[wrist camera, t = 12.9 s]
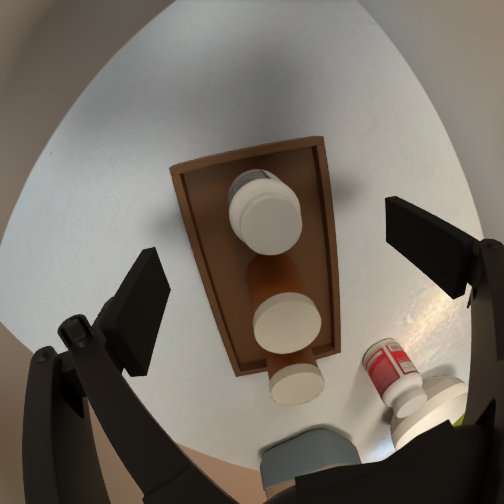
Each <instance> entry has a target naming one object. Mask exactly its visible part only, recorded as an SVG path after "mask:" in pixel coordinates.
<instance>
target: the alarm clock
mask: <svg viewBox="0 0 504 504" xmlns="http://www.w3.org/2000/svg"><path fill="white" fill-rule="evenodd" d="M356 464H362V463H361V460H360V457H359V454H358V451H357V449H356V447H355V446H354V445H353V443H352V442H351V441H349V440H347V439H345V438H343V437H341V436H339V435H337V434H335V433H333V432H331V431H329V430H326V429H316V430H311V431H308V432H306V433H304V434H302V435H300V436H298V437H296V438H294V439H292V440H289V441H287V442H285V443H283V444H280V445H278V446H276V447H273V448H271V449H270V450H268V451H267V452H266V453H265V454H264V455H263V457H262V461H261V464H260V471H261V477H262V483H263V489H264V491H265V492H266V496H267V500H268V499H270V498H271V497H273V496H274V495H276V494H277V493H279V492H281V491H283V490H284V489H286V488H289V487H291V486H293V485H295V479H294V477H296V476H300V475H305V474H309V473H313V472H318V471H321V470H325V469H329V468H333V467H336V466H346V465H356Z"/></svg>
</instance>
